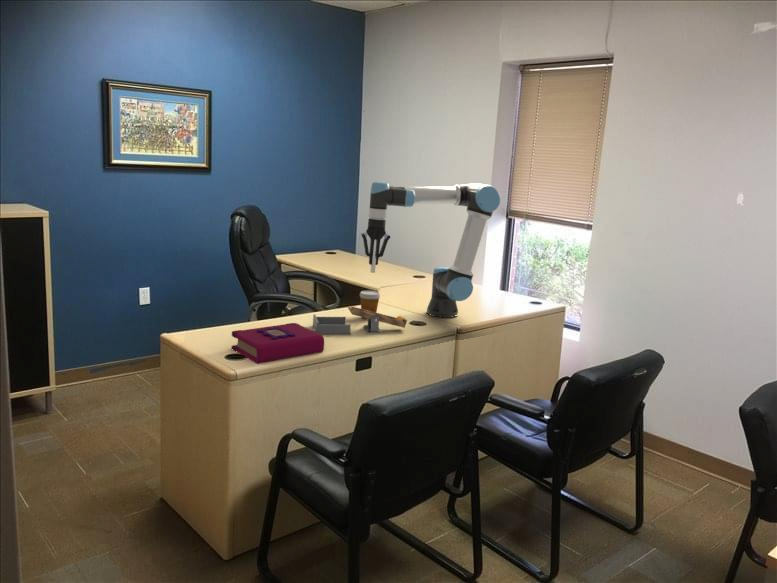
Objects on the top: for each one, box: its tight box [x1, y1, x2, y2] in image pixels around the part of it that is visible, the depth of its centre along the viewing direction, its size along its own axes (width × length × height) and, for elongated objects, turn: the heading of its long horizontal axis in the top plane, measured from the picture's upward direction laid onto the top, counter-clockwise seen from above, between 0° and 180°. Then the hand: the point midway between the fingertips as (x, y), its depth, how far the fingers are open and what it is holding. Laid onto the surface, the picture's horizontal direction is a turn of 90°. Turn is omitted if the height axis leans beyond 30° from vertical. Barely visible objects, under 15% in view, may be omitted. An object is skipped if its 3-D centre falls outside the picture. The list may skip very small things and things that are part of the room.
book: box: [231, 322, 325, 364], centre depth 242 cm, size 21×28×8 cm
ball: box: [395, 315, 405, 321], centre depth 280 cm, size 3×3×3 cm
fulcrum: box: [363, 317, 383, 334], centre depth 278 cm, size 6×11×7 cm, turn 13°
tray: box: [312, 314, 351, 335], centre depth 274 cm, size 14×14×5 cm
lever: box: [347, 305, 408, 329], centre depth 281 cm, size 24×11×3 cm, turn 103°
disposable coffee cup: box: [359, 290, 381, 320], centre depth 297 cm, size 10×10×12 cm
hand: (372, 272), depth 285 cm, fingers closed
